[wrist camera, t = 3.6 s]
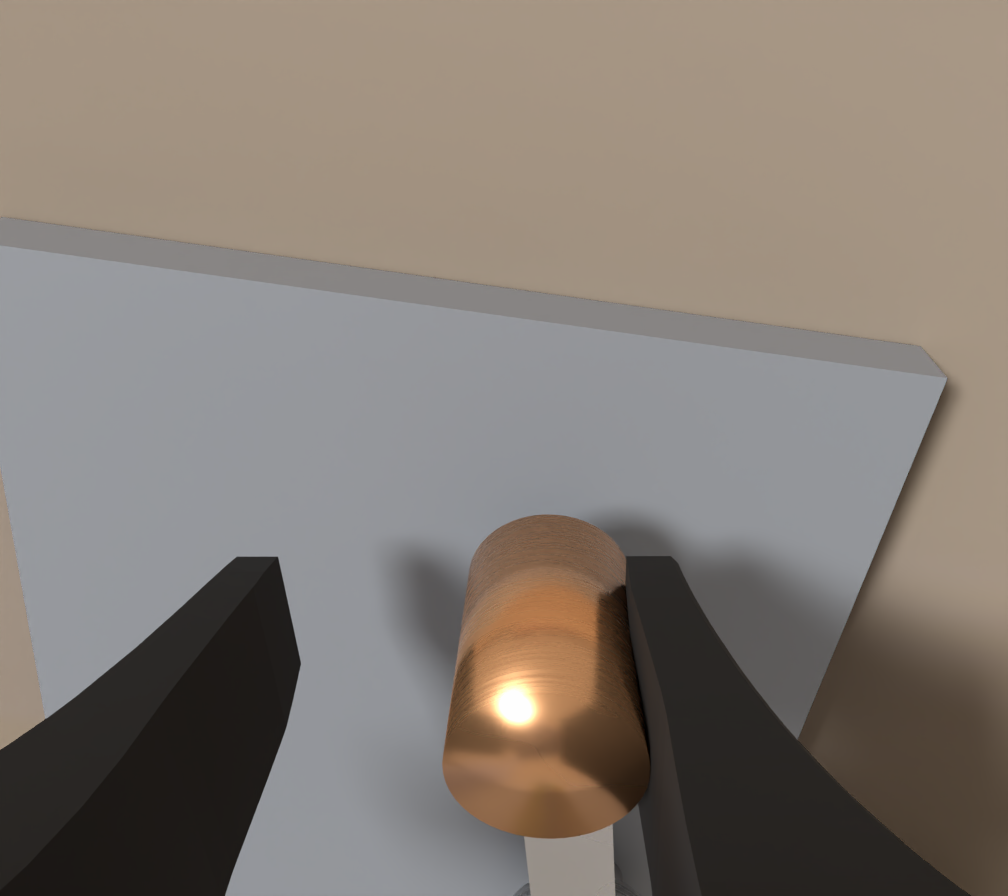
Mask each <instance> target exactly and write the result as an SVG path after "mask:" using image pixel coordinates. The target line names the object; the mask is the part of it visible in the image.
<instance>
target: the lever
mask: <svg viewBox="0 0 1008 896" xmlns="http://www.w3.org/2000/svg"><path fill="white" fill-rule="evenodd" d="M625 581H626V558H625V556H624V554H623V552H622V551H621V549H620V548H619V546H618V545H617V544H616V543H615V542H614V540H613V539H612V538H611V537H609V536H608V535H607V534H606V533H605V532H603V531H602V530H600V529H599V528H597V527H596V526H594V525H592V524H589V523H587V522H585V521H582V520H579V519H577V518H572V517H568V516H562V515H548V514H543V515H533V516H528V517H523V518H520V519H517V520H514V521H511V522H509V523H507V524H505V525H503V526H501V527H500V528H498V529H496V530H495V531H493V532H492V533H491V534H490V535H489V536H487V537H486V539H485V540H484V541H483V542H482V543H481V544H480V546H479V547H478V548H477V550H476V552H475V554H474V556H473V558H472V561H471V564H470V568H469V575H468V582H467V589H466V596H465V603H464V610H463V617H462V625H461V632H460V639H459V646H458V653H457V660H456V667H455V674H454V681H453V688H452V695H451V702H450V709H449V717H448V724H447V731H446V738H445V745H444V752H443V760H442V767H443V775H444V779H445V782H446V784H447V786H448V789H449V791H450V792H451V794H452V795H453V797H454V798H455V799H456V801H457V802H458V803H459V804H460V805H461V806H462V807H463V808H464V809H465V810H466V811H468V812H469V813H470V814H471V815H473V816H474V817H476V818H477V819H479V820H480V821H482V822H484V823H486V824H488V825H490V826H492V827H494V828H497V829H499V830H502V831H505V832H508V833H512V834H515V835H520V836H524V840H525V849H526V858H527V867H528V875H529V883H527V884H525V885H524V886H523V887H521V888H520V889H519V890H518V891H517V892H516V893H515V894H514V896H640V895H639V894H638V893H637V892H636V891H635V890H634V889H632V888H631V887H630V886H628V885H627V884H625V883H623V882H621V881H619V880H617V879H615V874H614V849H613V823H615V822H617V821H618V820H620V819H622V818H623V817H624V816H625V815H627V814H628V813H629V812H630V811H631V810H632V809H633V808H634V807H635V806H636V805H637V804H638V802H639V801H640V800H641V798H642V797H643V795H644V793H645V791H646V789H647V786H648V782H649V779H650V761H649V752H648V742H647V735H646V729H645V722H644V715H643V709H642V702H641V696H640V690H639V685H638V679H637V673H636V667H635V661H634V655H633V650H632V644H631V639H630V632H629V621H628V610H627V598H626V587H625Z"/></svg>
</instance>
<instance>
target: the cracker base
mask: <svg viewBox="0 0 1008 896" xmlns="http://www.w3.org/2000/svg"><path fill="white" fill-rule="evenodd" d="M946 381H947V377H946V376H945V375H944V373H943V372H942V371H941V370H940V369H939V368H938V366H937V365H936V364H935V363H934V362H933V360H932V359H931V358H930V357H929V356H928V354H927V353H926V352H925V351H924V350H923V349H922V347H921V346H914V345H907V344H900V343H893V342H886V341H879V340H872V339H865V338H858V337H851V336H843V335H836V334H829V333H822V332H815V331H808V330H801V329H794V328H787V327H780V326H772V325H765V324H758V323H751V322H744V321H737V320H730V319H723V318H716V317H709V316H701V315H694V314H687V313H680V312H673V311H666V310H659V309H652V308H645V307H637V306H630V305H623V304H616V303H609V302H602V301H595V300H588V299H581V298H574V297H566V296H559V295H552V294H545V293H538V292H531V291H524V290H517V289H510V288H503V287H495V286H488V285H481V284H474V283H467V282H460V281H453V280H446V279H439V278H432V277H424V276H417V275H410V274H403V273H396V272H389V271H382V270H375V269H368V268H360V267H353V266H346V265H339V264H332V263H325V262H318V261H311V260H304V259H297V258H289V257H282V256H275V255H268V254H261V253H254V252H247V251H240V250H233V249H226V248H218V247H211V246H204V245H197V244H190V243H183V242H176V241H169V240H162V239H155V238H147V237H140V236H133V235H126V234H119V233H112V232H105V231H98V230H91V229H83V228H76V227H69V226H62V225H55V224H48V223H41V222H34V221H27V220H20V219H12V218H5V217H1V218H0V468H1V473H2V479H3V484H4V490H5V496H6V501H7V507H8V512H9V518H10V523H11V529H12V535H13V540H14V546H15V551H16V557H17V563H18V568H19V574H20V579H21V585H22V590H23V596H24V602H25V607H26V613H27V618H28V624H29V630H30V635H31V641H32V646H33V652H34V657H35V663H36V669H37V674H38V680H39V685H40V691H41V697H42V702H43V708H44V713H45V719H46V718H48V717H49V716H51V715H52V714H53V713H55V712H56V711H57V710H59V709H60V708H61V707H63V706H64V705H65V704H67V703H68V702H69V701H71V700H72V699H73V698H75V697H76V696H77V695H79V694H80V693H81V692H82V691H83V690H85V689H86V688H87V687H88V686H90V685H91V684H92V683H93V682H94V681H96V680H97V679H98V678H99V677H101V676H102V675H103V674H104V673H105V672H107V671H108V670H109V669H110V668H112V667H113V666H114V665H115V664H116V663H118V662H119V661H120V660H121V659H123V658H124V657H125V656H126V655H127V654H129V653H130V652H131V651H132V650H134V649H135V648H136V647H137V646H138V645H139V644H140V643H142V642H143V641H144V640H145V639H146V638H147V637H148V636H149V635H151V634H152V633H153V632H154V631H155V630H156V629H157V628H158V627H159V626H161V625H162V624H163V623H164V622H165V621H166V620H167V619H168V618H170V617H171V616H172V615H173V614H174V613H175V612H176V611H177V610H178V609H180V608H181V607H182V606H183V605H184V604H185V603H186V602H187V601H188V600H189V599H190V598H191V597H193V596H194V595H195V594H196V593H197V592H198V591H199V590H200V589H201V588H202V587H203V586H204V585H206V584H207V583H208V582H209V581H210V580H211V579H212V578H213V577H214V576H215V575H216V574H217V573H219V572H220V571H221V570H222V569H223V568H224V567H225V566H226V565H228V564H229V563H230V562H231V561H232V560H233V559H235V558H236V557H278V559H279V563H280V568H281V572H282V577H283V582H284V586H285V591H286V596H287V600H288V605H289V610H290V614H291V619H292V623H293V628H294V633H295V637H296V642H297V647H298V651H299V656H300V661H301V666H300V671H299V676H298V680H297V685H296V689H295V694H294V699H293V703H292V707H291V711H290V715H289V719H288V723H287V727H286V730H285V733H284V736H283V739H282V742H281V744H280V747H279V750H278V753H277V755H276V758H275V761H274V763H273V766H272V769H271V772H270V774H269V777H268V780H267V782H266V785H265V788H264V790H263V793H262V796H261V798H260V801H259V804H258V806H257V809H256V812H255V814H254V817H253V820H252V822H251V825H250V827H249V830H248V833H247V835H246V838H245V841H244V843H243V846H242V849H241V851H240V854H239V857H238V859H237V862H236V865H235V867H234V870H233V873H232V876H231V879H230V882H229V885H228V888H227V891H226V894H225V896H514V894H515V893H516V892H517V891H518V890H519V889H520V888H521V887H523V886H524V885H525V884H527V883H529V875H528V867H527V858H526V849H525V840H524V836H520V835H515V834H512V833H508V832H505V831H502V830H499V829H497V828H494V827H492V826H490V825H488V824H486V823H484V822H482V821H480V820H479V819H477V818H476V817H474V816H473V815H471V814H470V813H469V812H468V811H466V810H465V809H464V808H463V807H462V806H461V805H460V804H459V803H458V802H457V801H456V799H455V798H454V797H453V795H452V794H451V792H450V791H449V789H448V786H447V784H446V782H445V779H444V775H443V767H442V760H443V752H444V745H445V738H446V731H447V724H448V717H449V709H450V702H451V695H452V688H453V681H454V674H455V667H456V660H457V653H458V646H459V639H460V632H461V625H462V617H463V610H464V603H465V596H466V589H467V582H468V575H469V568H470V564H471V561H472V558H473V556H474V554H475V552H476V550H477V548H478V547H479V546H480V544H481V543H482V542H483V541H484V540H485V539H486V537H487V536H489V535H490V534H491V533H492V532H493V531H495V530H496V529H498V528H500V527H501V526H503V525H505V524H507V523H509V522H511V521H514V520H517V519H520V518H523V517H528V516H533V515H543V514H548V515H562V516H568V517H572V518H577V519H579V520H582V521H585V522H587V523H589V524H592V525H594V526H596V527H597V528H599V529H600V530H602V531H603V532H605V533H606V534H607V535H608V536H609V537H611V538H612V539H613V540H614V542H615V543H616V544H617V545H618V546H619V548H620V549H621V551H622V552H623V554H624V556H625V558H626V556H671V557H672V558H673V559H674V560H675V561H676V562H678V564H679V566H680V569H681V571H682V573H683V575H684V577H685V579H686V581H687V583H688V585H689V587H690V589H691V591H692V593H693V594H694V596H695V598H696V600H697V602H698V603H699V605H700V607H701V608H702V610H703V612H704V614H705V615H706V617H707V619H708V620H709V622H710V624H711V625H712V627H713V628H714V630H715V631H716V633H717V635H718V636H719V638H720V639H721V641H722V642H723V643H724V645H725V646H726V648H727V649H728V651H729V652H730V654H731V655H732V657H733V658H734V660H735V661H736V663H737V664H738V666H739V667H740V668H741V670H742V671H743V672H744V674H745V675H746V677H747V678H748V679H749V681H750V682H751V683H752V685H753V686H754V687H755V689H756V690H757V691H758V692H759V694H760V695H761V696H762V698H763V699H764V700H765V701H766V703H767V704H768V705H769V707H770V708H771V709H772V710H773V712H774V713H775V714H776V715H777V716H778V718H779V719H780V720H781V721H782V722H783V724H784V725H785V726H786V727H787V728H788V729H789V731H790V732H791V733H792V734H793V735H794V736H795V738H796V739H797V740H798V737H799V735H800V732H801V730H802V728H803V725H804V723H805V720H806V718H807V716H808V713H809V711H810V708H811V706H812V704H813V701H814V699H815V696H816V694H817V692H818V689H819V687H820V684H821V682H822V680H823V677H824V675H825V672H826V670H827V667H828V665H829V663H830V660H831V658H832V655H833V653H834V651H835V648H836V646H837V643H838V641H839V639H840V636H841V634H842V631H843V629H844V627H845V624H846V622H847V619H848V617H849V614H850V612H851V610H852V607H853V605H854V602H855V600H856V598H857V595H858V593H859V590H860V588H861V586H862V583H863V581H864V578H865V576H866V574H867V571H868V569H869V566H870V564H871V561H872V559H873V557H874V554H875V552H876V549H877V547H878V545H879V542H880V540H881V537H882V535H883V533H884V530H885V528H886V525H887V523H888V521H889V518H890V516H891V513H892V511H893V509H894V506H895V504H896V501H897V499H898V496H899V494H900V492H901V489H902V487H903V484H904V482H905V480H906V477H907V475H908V472H909V470H910V468H911V465H912V463H913V460H914V458H915V456H916V453H917V451H918V448H919V446H920V443H921V441H922V439H923V436H924V434H925V431H926V429H927V427H928V424H929V422H930V419H931V417H932V415H933V412H934V410H935V407H936V405H937V403H938V400H939V398H940V395H941V393H942V391H943V388H944V386H945V383H946ZM613 849H614V874H615V879H617V880H619V881H621V882H623V883H625V884H627V885H628V886H630V887H631V888H632V889H634V890H635V891H636V892H637V893H638V894H639V895H640V896H652V889H651V881H650V874H649V868H648V862H647V856H646V850H645V843H644V837H643V831H642V825H641V819H640V812H639V806H638V804H637V805H636V806H635V807H634V808H633V809H632V810H631V811H630V812H629V813H628V814H627V815H625V816H624V817H623V818H622V819H620V820H618V821H617V822H615V823H613Z"/></svg>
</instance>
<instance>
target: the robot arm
mask: <svg viewBox="0 0 1008 896" xmlns="http://www.w3.org/2000/svg"><path fill="white" fill-rule="evenodd" d="M625 587H626V598H627V610H628V621H629V632H630V639H631V644H632V650H633V655H634V661H635V667H636V673H637V679H638V685H639V690H640V696H641V702H642V709H643V715H644V722H645V729H646V735H647V742H648V752H649V761H650V779H649V782H648V786H647V789H646V791H645V793H644V795H643V797H642V798H641V800H640V801H639V802H638V806H639V812H640V819H641V825H642V831H643V837H644V843H645V850H646V856H647V862H648V868H649V874H650V881H651V889H652V896H971V895H969V894H968V893H966V892H965V891H964V890H962V889H961V888H959V887H958V886H956V885H955V884H954V883H953V882H951V881H950V880H949V879H947V878H946V877H945V876H943V875H942V874H941V873H940V872H938V871H937V870H936V869H935V868H933V867H932V866H931V865H930V864H928V863H927V862H926V861H925V860H923V859H922V858H921V857H920V856H918V855H917V854H916V853H915V852H914V851H912V850H911V849H910V848H909V847H908V846H906V845H905V844H904V843H903V842H902V841H901V840H900V839H899V838H898V837H896V836H895V835H894V834H893V833H892V832H891V831H890V830H889V829H888V828H886V827H885V826H884V825H883V824H882V823H881V822H880V821H879V820H878V819H876V818H875V817H874V816H873V815H872V814H871V813H870V812H869V811H868V810H866V809H865V808H864V807H863V806H862V805H861V804H860V803H859V802H857V801H856V800H855V799H854V798H853V797H852V796H851V795H850V794H849V793H848V792H847V791H846V790H845V789H844V788H843V787H842V786H841V785H840V784H839V783H838V782H837V781H836V780H835V779H834V778H833V777H832V776H831V775H830V774H829V773H828V772H827V771H826V770H825V769H824V768H823V767H822V766H821V765H820V764H819V763H818V762H817V761H816V759H815V758H814V757H813V756H812V755H811V754H810V753H809V752H808V751H807V750H806V749H805V747H804V746H803V745H802V744H801V743H800V742H799V741H798V740H797V739H796V738H795V736H794V735H793V734H792V733H791V732H790V731H789V729H788V728H787V727H786V726H785V725H784V724H783V722H782V721H781V720H780V719H779V718H778V716H777V715H776V714H775V713H774V712H773V710H772V709H771V708H770V707H769V705H768V704H767V703H766V701H765V700H764V699H763V698H762V696H761V695H760V694H759V692H758V691H757V690H756V689H755V687H754V686H753V685H752V683H751V682H750V681H749V679H748V678H747V677H746V675H745V674H744V672H743V671H742V670H741V668H740V667H739V666H738V664H737V663H736V661H735V660H734V658H733V657H732V655H731V654H730V652H729V651H728V649H727V648H726V646H725V645H724V643H723V642H722V641H721V639H720V638H719V636H718V635H717V633H716V631H715V630H714V628H713V627H712V625H711V624H710V622H709V620H708V619H707V617H706V615H705V614H704V612H703V610H702V608H701V607H700V605H699V603H698V602H697V600H696V598H695V596H694V594H693V593H692V591H691V589H690V587H689V585H688V583H687V581H686V579H685V577H684V575H683V573H682V571H681V569H680V566H679V564H678V562H676V561H675V560H674V559H673V558H672V557H671V556H626V581H625ZM300 666H301V661H300V656H299V651H298V647H297V642H296V637H295V633H294V628H293V623H292V619H291V614H290V610H289V605H288V600H287V596H286V591H285V586H284V582H283V577H282V572H281V568H280V563H279V559H278V557H236V558H235V559H233V560H232V561H231V562H230V563H229V564H228V565H226V566H225V567H224V568H223V569H222V570H221V571H220V572H219V573H217V574H216V575H215V576H214V577H213V578H212V579H211V580H210V581H209V582H208V583H207V584H206V585H204V586H203V587H202V588H201V589H200V590H199V591H198V592H197V593H196V594H195V595H194V596H193V597H191V598H190V599H189V600H188V601H187V602H186V603H185V604H184V605H183V606H182V607H181V608H180V609H178V610H177V611H176V612H175V613H174V614H173V615H172V616H171V617H170V618H168V619H167V620H166V621H165V622H164V623H163V624H162V625H161V626H159V627H158V628H157V629H156V630H155V631H154V632H153V633H152V634H151V635H149V636H148V637H147V638H146V639H145V640H144V641H143V642H142V643H140V644H139V645H138V646H137V647H136V648H135V649H134V650H132V651H131V652H130V653H129V654H127V655H126V656H125V657H124V658H123V659H121V660H120V661H119V662H118V663H116V664H115V665H114V666H113V667H112V668H110V669H109V670H108V671H107V672H105V673H104V674H103V675H102V676H101V677H99V678H98V679H97V680H96V681H94V682H93V683H92V684H91V685H90V686H88V687H87V688H86V689H85V690H83V691H82V692H81V693H80V694H79V695H77V696H76V697H75V698H73V699H72V700H71V701H69V702H68V703H67V704H65V705H64V706H63V707H61V708H60V709H59V710H57V711H56V712H55V713H53V714H52V715H51V716H49V717H48V718H46V719H45V720H44V721H42V722H41V723H39V724H38V725H36V726H35V727H34V728H32V729H31V730H29V731H28V732H26V733H25V734H23V735H22V736H20V737H19V738H18V739H16V740H15V741H13V742H12V743H10V744H9V745H7V746H6V747H4V748H3V749H1V750H0V896H225V894H226V891H227V888H228V885H229V882H230V879H231V876H232V873H233V870H234V867H235V865H236V862H237V859H238V857H239V854H240V851H241V849H242V846H243V843H244V841H245V838H246V835H247V833H248V830H249V827H250V825H251V822H252V820H253V817H254V814H255V812H256V809H257V806H258V804H259V801H260V798H261V796H262V793H263V790H264V788H265V785H266V782H267V780H268V777H269V774H270V772H271V769H272V766H273V763H274V761H275V758H276V755H277V753H278V750H279V747H280V744H281V742H282V739H283V736H284V733H285V730H286V727H287V723H288V719H289V715H290V711H291V707H292V703H293V699H294V694H295V689H296V685H297V680H298V676H299V671H300Z"/></svg>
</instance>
